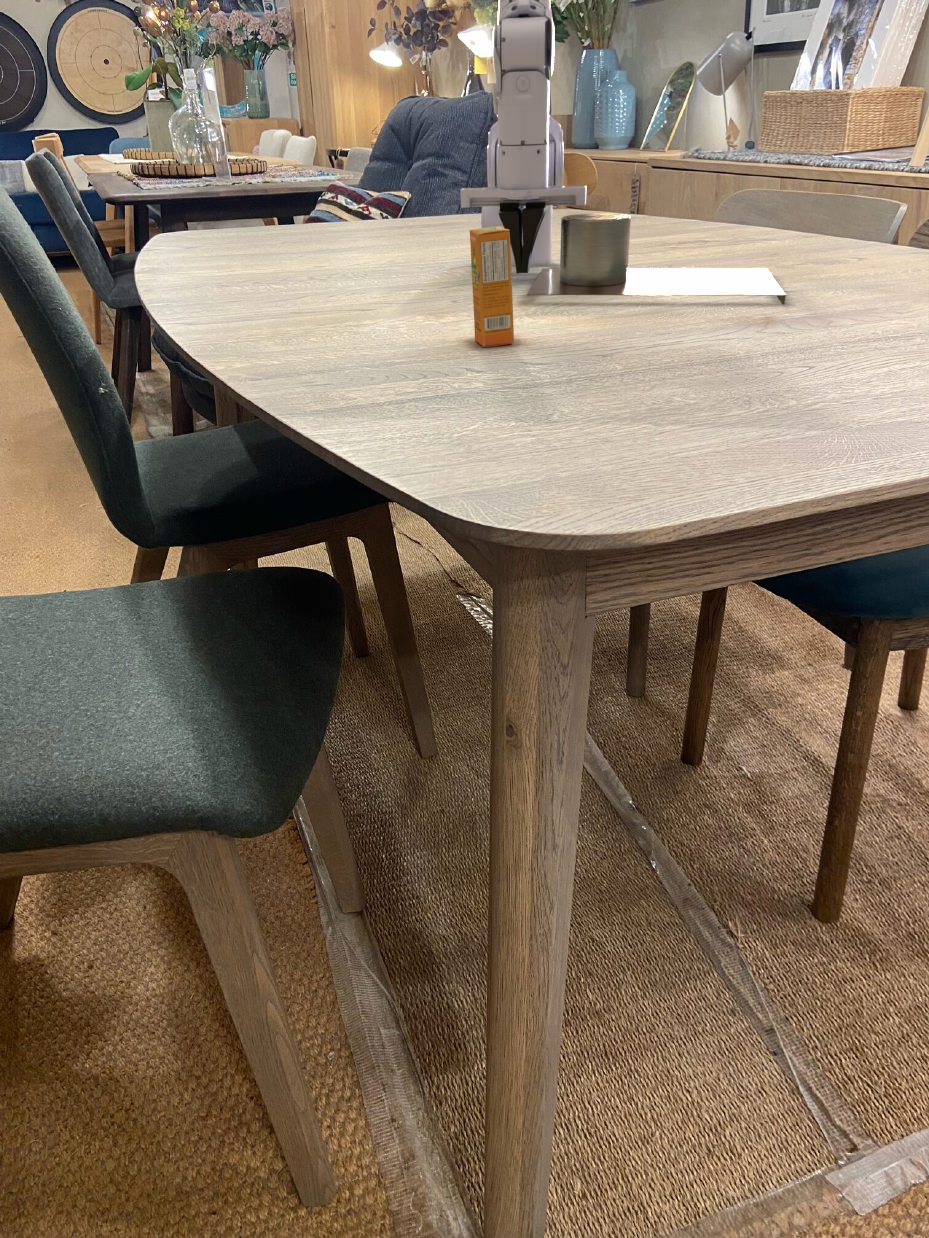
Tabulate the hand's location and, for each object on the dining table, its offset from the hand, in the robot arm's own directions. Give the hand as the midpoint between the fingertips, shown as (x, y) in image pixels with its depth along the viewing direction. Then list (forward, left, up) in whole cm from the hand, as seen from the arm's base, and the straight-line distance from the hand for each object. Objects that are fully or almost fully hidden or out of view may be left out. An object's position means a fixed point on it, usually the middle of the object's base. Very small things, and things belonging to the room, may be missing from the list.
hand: (523, 272), depth 107 cm
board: (+15, 0, -2) cm, 16 cm away
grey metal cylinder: (+8, 0, -1) cm, 9 cm away
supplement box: (0, -28, -2) cm, 28 cm away
